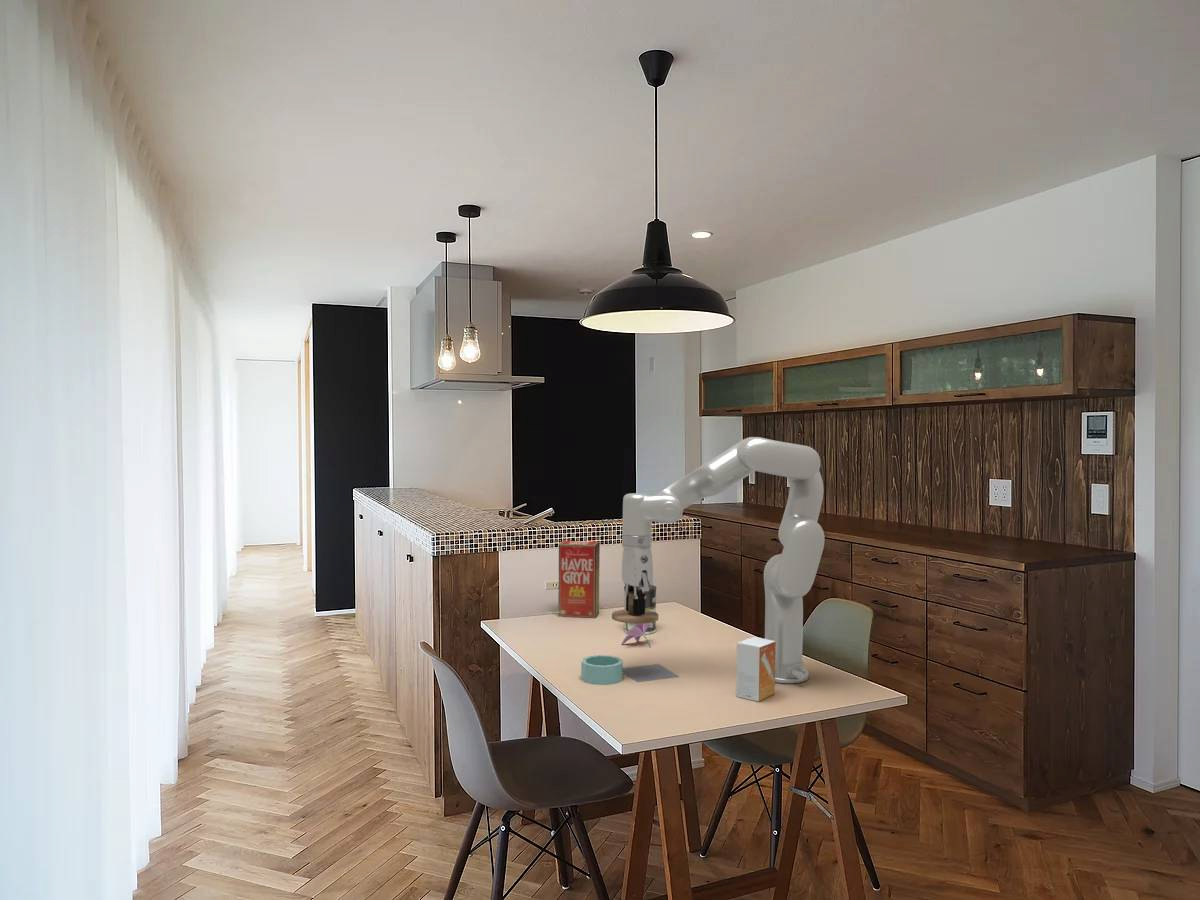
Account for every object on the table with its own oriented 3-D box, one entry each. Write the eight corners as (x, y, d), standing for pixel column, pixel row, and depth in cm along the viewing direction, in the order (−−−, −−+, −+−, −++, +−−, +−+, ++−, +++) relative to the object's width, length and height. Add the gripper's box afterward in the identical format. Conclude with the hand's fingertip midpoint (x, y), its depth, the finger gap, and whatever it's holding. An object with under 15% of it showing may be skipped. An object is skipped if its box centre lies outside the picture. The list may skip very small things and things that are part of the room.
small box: (759, 702, 187) (759, 647, 187) (735, 696, 191) (736, 642, 191) (775, 694, 193) (776, 640, 193) (752, 688, 197) (753, 636, 197)
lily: (659, 643, 243) (646, 614, 245) (671, 637, 232) (657, 607, 235) (625, 659, 239) (611, 629, 241) (635, 654, 228) (621, 622, 231)
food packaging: (557, 616, 273) (557, 543, 272) (562, 610, 282) (562, 540, 281) (596, 618, 271) (596, 544, 270) (599, 612, 280) (600, 541, 280)
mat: (679, 678, 205) (679, 676, 204) (637, 684, 200) (637, 681, 200) (658, 666, 216) (658, 663, 216) (617, 670, 211) (617, 668, 211)
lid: (666, 621, 203) (666, 596, 203) (622, 625, 198) (623, 599, 198) (646, 611, 214) (646, 587, 214) (604, 614, 209) (605, 589, 209)
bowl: (628, 684, 200) (628, 664, 200) (590, 688, 196) (591, 668, 196) (612, 672, 209) (612, 653, 209) (576, 676, 206) (576, 657, 205)
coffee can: (655, 627, 259) (655, 583, 259) (656, 635, 249) (657, 589, 249) (623, 626, 260) (623, 583, 259) (623, 634, 249) (624, 589, 249)
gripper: (664, 545, 199) (662, 618, 200) (636, 537, 215) (635, 605, 215) (636, 546, 197) (635, 620, 197) (610, 537, 212) (609, 606, 212)
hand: (635, 611), depth 206 cm, fingers closed on lid, 3 cm apart
